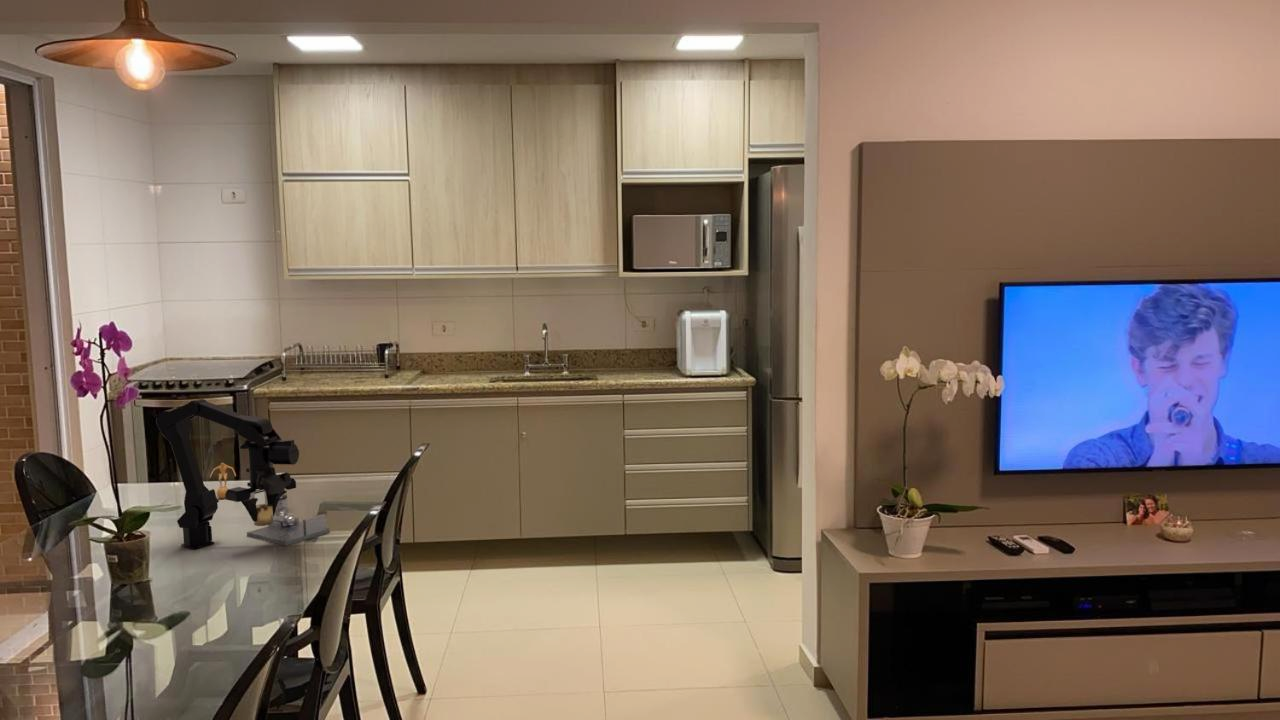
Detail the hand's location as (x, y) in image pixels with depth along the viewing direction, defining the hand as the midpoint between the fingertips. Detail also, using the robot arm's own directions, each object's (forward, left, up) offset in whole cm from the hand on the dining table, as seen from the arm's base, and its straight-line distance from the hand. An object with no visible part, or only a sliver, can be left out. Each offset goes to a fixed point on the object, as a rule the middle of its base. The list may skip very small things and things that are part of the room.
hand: (263, 519), depth 261 cm
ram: (+14, +10, -6) cm, 18 cm away
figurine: (+27, +62, -8) cm, 68 cm away
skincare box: (+25, +30, -8) cm, 40 cm away
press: (+11, +4, -8) cm, 14 cm away
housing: (0, 0, -1) cm, 1 cm away
